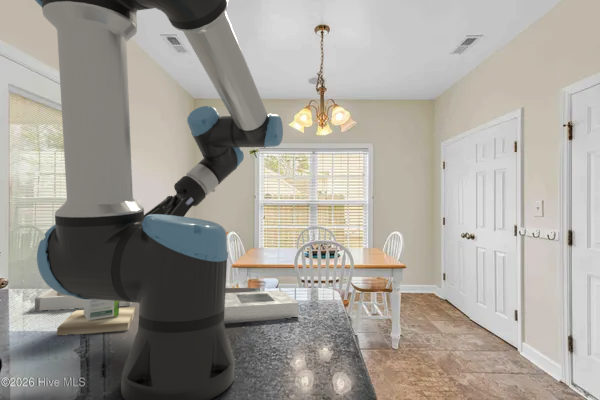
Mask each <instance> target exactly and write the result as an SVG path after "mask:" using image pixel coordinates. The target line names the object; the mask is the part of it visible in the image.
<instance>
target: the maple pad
mask: <svg viewBox="0 0 600 400" xmlns="http://www.w3.org/2000/svg"><path fill="white" fill-rule="evenodd" d="M135 315H136V306H121V307H119V315H118V316H117V317H109V318H103V319H96V320H92V321H88V320H87V319H86V317H85V316H84V309H75V311H73V312H72V314H70V315H69V317H67V318H66V319H65V320H64V321H62V322H61V324H60V325H59V326H57V328H56V329H57V330H56V333H57V334H56V336H57V335H62V336H66V335H65V334H75V335H86V334H96V333H97V334H99V333H111V332H124V331H128V330H129V328H130V326H131V324H132V322H133V320H134V318H135Z"/></svg>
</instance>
